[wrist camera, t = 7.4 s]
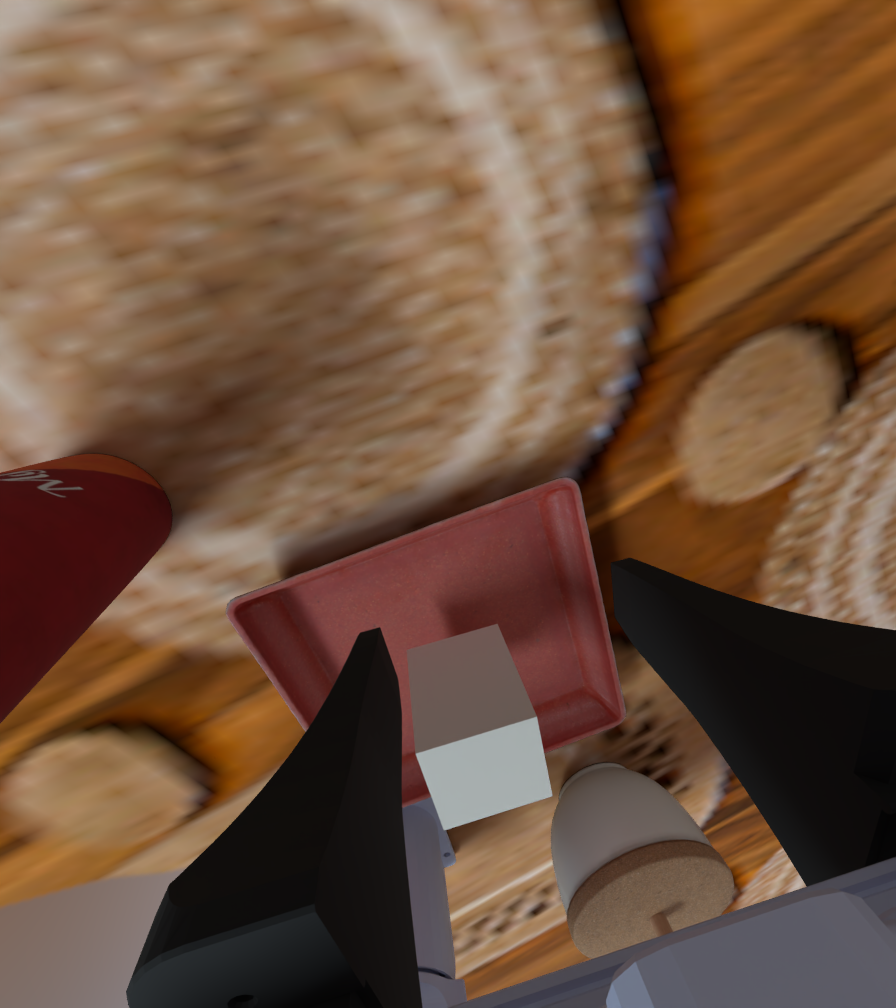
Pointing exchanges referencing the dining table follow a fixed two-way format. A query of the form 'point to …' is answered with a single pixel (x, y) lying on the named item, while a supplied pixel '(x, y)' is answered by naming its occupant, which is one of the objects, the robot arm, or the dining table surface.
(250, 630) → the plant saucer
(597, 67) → the dining table surface
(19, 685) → the paper cup
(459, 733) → the block
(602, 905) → the lidded jar
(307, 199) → the dining table surface
